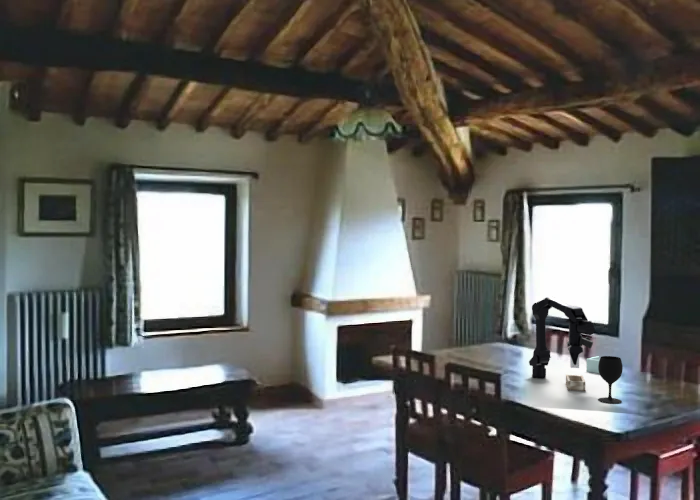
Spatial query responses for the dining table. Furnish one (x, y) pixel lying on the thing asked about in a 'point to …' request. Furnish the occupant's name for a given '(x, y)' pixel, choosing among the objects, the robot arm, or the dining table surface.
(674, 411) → the dining table surface
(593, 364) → the l-shaped corner panel
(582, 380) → the beige tray
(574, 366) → the light grey rectangular block
